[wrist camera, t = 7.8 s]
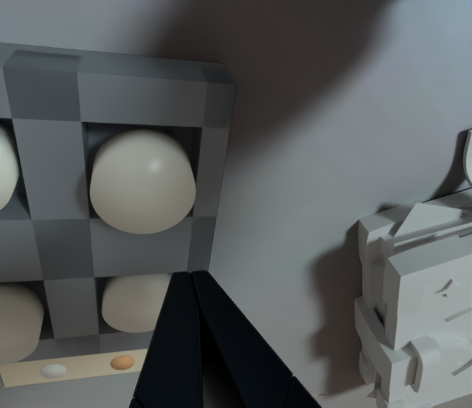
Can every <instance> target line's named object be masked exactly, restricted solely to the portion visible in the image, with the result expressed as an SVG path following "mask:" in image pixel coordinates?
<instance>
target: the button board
mask: <svg viewBox="0 0 472 408" xmlns="http://www.w3.org/2000/svg"><path fill="white" fill-rule="evenodd" d="M236 87H237V84H236V83H235V81H234V80H233V78H232V77H231V75H230V74H229V72H228V71H227V69H226V68H225V66H224V64H222V63H212V62H201V61H190V60H180V59H169V58H159V57H148V56H137V55H127V54H116V53H105V52H95V51H84V50H74V49H63V48H52V47H42V46H31V45H21V44H10V43H0V122H1V123H2V124H3V125H4V126H6V127H7V128H8V129H9V130H10V131H11V132H12V134H13V135H14V136H15V137H16V141H17V146H18V152H19V157H20V162H21V167H22V172H21V174H20V177H19V179H18V181H17V184H16V186H15V189H14V191H13V193H12V196H11V198H10V200H9V201H8V203H7V204H6V205H5V206H4V207H3V208H2V209H1V210H0V282H10V283H15V284H19V285H22V286H24V287H27V288H29V289H30V290H32V291H34V292H35V293H36V294H37V295H38V296H39V297H40V298H41V299H42V301H43V303H44V306H45V313H44V317H43V322H42V327H41V332H40V336H39V341H38V345H37V347H36V349H35V350H34V351H33V352H32V353H31V354H30V355H29V356H27V357H26V358H24V359H22V360H19V361H17V362H14V363H18V362H27V361H37V360H46V359H56V358H65V357H74V356H84V355H93V354H103V353H112V352H121V351H131V350H140V349H148V347H149V344H150V341H151V338H152V335H153V332H154V330H152V331H148V332H142V333H129V332H123V331H120V330H117V329H115V328H113V327H111V326H110V325H109V324H107V323H106V321H105V320H104V318H103V316H102V302H103V287H104V280H105V277H109V276H127V275H145V274H163V273H173V272H176V271H189V273H190V272H191V271H195V270H206V271H208V268H209V262H210V255H211V249H212V242H213V236H214V229H215V223H216V216H217V210H218V203H219V197H220V191H221V184H222V178H223V171H224V165H225V158H226V152H227V145H228V139H229V132H230V126H231V119H232V113H233V106H234V100H235V93H236ZM135 127H147V128H153V129H158V130H160V131H163V132H165V133H167V134H169V135H171V136H172V137H174V138H175V139H176V140H177V141H178V142H179V143H180V144H181V145H182V146H183V148H184V149H185V151H186V153H187V155H188V158H189V161H190V165H191V169H192V173H193V177H194V181H195V186H196V196H195V201H194V203H193V206H192V208H191V210H190V211H189V213H188V214H187V215H186V216H185V217H184V218H183V219H182V220H181V221H180V222H179V223H177V224H176V225H174V226H172V227H171V228H169V229H166V230H164V231H160V232H157V233H151V234H134V233H128V232H124V231H121V230H118V229H116V228H114V227H112V226H111V225H109V224H107V223H106V222H105V221H104V220H103V219H102V218H101V217H100V216H99V215H98V214H97V212H96V211H95V209H94V207H93V205H92V202H91V198H90V185H91V178H92V171H93V164H94V158H95V156H96V153H97V151H98V149H99V148H100V146H101V145H102V144H103V143H104V142H105V141H106V140H107V139H108V138H109V137H111V136H112V135H114V134H116V133H117V132H120V131H122V130H125V129H129V128H135Z"/></svg>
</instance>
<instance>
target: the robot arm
mask: <svg viewBox="0 0 472 408" xmlns="http://www.w3.org/2000/svg"><path fill="white" fill-rule="evenodd" d="M292 376H293V373H292V372H291V371H290V369H289V368H288V367H287V366H286V365H285V363H284V362H283V361H282V360H281V359H280V357H279V356H278V355H277V354H276V353H275V351H274V350H273V349H272V348H271V347H270V345H269V344H268V343H267V342H266V341H265V339H264V338H263V337H262V336H261V335H260V333H259V332H258V331H257V330H256V329H255V327H254V326H253V325H252V324H251V322H250V321H249V320H248V319H247V318H246V316H245V315H244V314H243V313H242V312H241V310H240V309H239V308H238V307H237V306H236V304H235V303H234V302H233V301H232V300H231V298H230V297H229V296H228V295H227V294H226V292H225V291H224V290H223V289H222V288H221V286H220V285H219V284H218V283H217V282H216V280H215V279H214V278H213V277H212V276H211V274H210V273H209V272H208V271H206V270H195V271H191V272H190V273H189V271H176V272H173V273H172V276H171V279H170V282H169V285H168V288H167V291H166V294H165V298H164V301H163V304H162V307H161V310H160V313H159V316H158V319H157V322H156V326H155V329H154V332H153V335H152V338H151V341H150V344H149V347H148V350H147V354H146V357H145V360H144V363H143V366H142V369H141V372H140V375H139V378H138V382H137V385H136V388H135V391H134V394H133V399H132V400H131V403H130V406H129V408H322V407H321V406H320V405H319V404H318V402H317V401H316V400H315V399H314V398H313V397H312V396H311V394H310V393H309V392H308V391H307V390H306V389H305V387H304V386H303V385H302V384H301V383H300V381H299V380H298V379H297V378H296V377H295V376H293V377H292Z"/></svg>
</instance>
